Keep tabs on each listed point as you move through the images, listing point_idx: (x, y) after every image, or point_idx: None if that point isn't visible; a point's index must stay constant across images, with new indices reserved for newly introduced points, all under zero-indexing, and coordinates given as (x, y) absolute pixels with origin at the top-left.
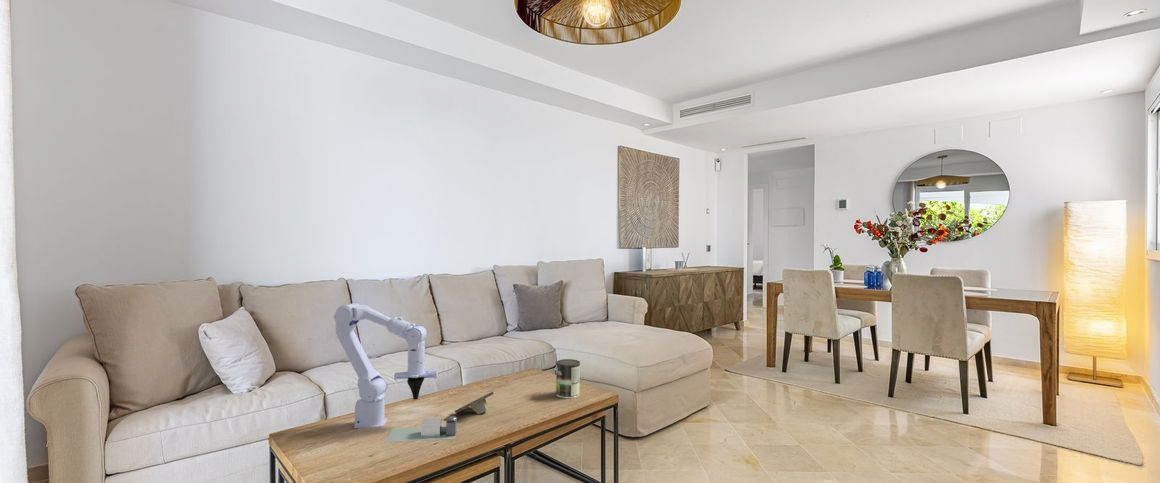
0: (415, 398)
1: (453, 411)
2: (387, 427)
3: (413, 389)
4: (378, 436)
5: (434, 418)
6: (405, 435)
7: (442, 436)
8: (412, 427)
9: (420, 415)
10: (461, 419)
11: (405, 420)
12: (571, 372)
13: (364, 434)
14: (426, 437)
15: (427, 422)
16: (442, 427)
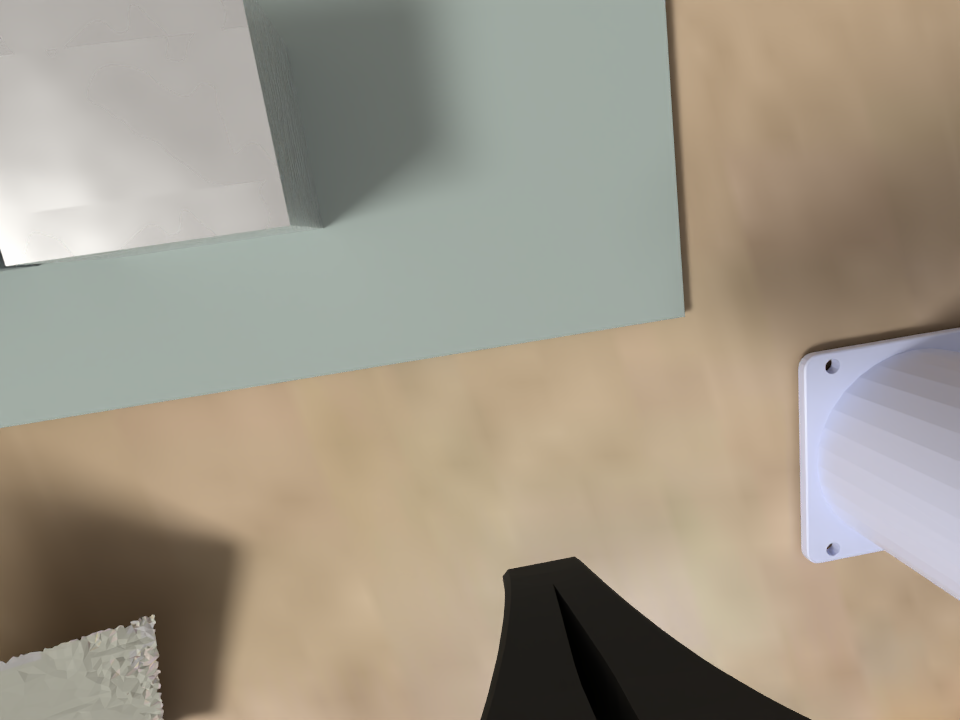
0: (542, 570)
1: (60, 647)
2: (747, 363)
3: (657, 689)
4: (770, 124)
5: (113, 223)
6: (489, 107)
7: None
8: (489, 342)
9: None
10: (41, 613)
11: (626, 544)
12: None
13: (916, 178)
14: None
15: (153, 36)
16: None
